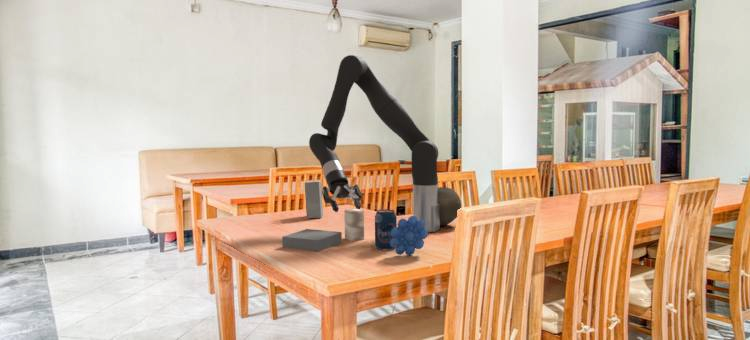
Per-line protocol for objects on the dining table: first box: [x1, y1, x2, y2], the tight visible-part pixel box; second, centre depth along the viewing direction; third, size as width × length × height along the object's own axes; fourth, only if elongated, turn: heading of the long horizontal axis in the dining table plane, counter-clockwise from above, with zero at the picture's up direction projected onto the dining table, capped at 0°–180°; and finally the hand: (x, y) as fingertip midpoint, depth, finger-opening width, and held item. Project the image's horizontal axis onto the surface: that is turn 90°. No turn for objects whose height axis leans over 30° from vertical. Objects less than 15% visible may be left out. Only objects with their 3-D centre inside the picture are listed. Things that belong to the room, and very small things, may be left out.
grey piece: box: [344, 208, 365, 242], centre depth 178 cm, size 5×5×10 cm
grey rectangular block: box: [304, 180, 324, 219], centre depth 223 cm, size 8×7×16 cm
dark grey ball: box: [438, 186, 462, 227], centre depth 199 cm, size 14×14×15 cm
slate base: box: [281, 228, 343, 252], centre depth 169 cm, size 14×14×4 cm
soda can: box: [374, 208, 398, 251], centre depth 163 cm, size 7×7×12 cm
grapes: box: [390, 215, 429, 256], centre depth 154 cm, size 12×7×12 cm, turn 95°
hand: (348, 209), depth 181 cm, fingers open, 8 cm apart
